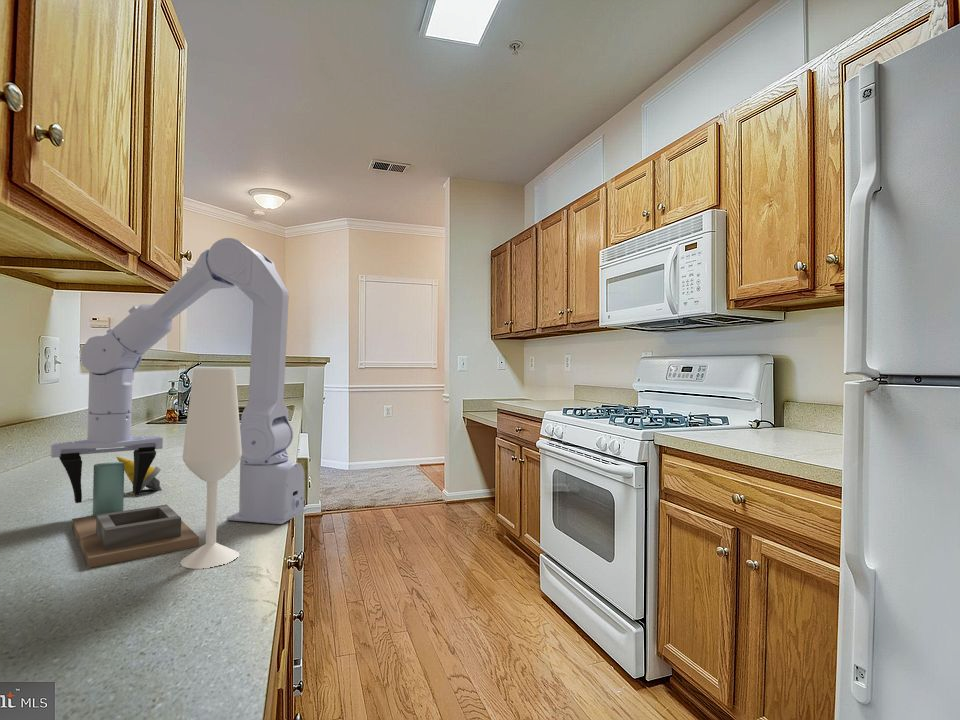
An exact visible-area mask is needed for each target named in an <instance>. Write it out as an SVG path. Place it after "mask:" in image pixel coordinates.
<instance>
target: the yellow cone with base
mask: <svg viewBox="0 0 960 720" xmlns="http://www.w3.org/2000/svg"><path fill="white" fill-rule="evenodd" d="M116 459H117V462H123V463H124V474H126V476H127V478H128V479H129V480H130V482H131V484H132V485H133V479H134V460H130V459H127V458H123V457H120V456H116ZM161 470H162V468H160V467H158V466H155V467H153V466H150V467H149V469H148V471H147V473H146V475H145V478H144V481H143V484H142V487H141V491H142V490H143V489H144V488H147V489H149V490H156V491H157V490H158V491H163V490H162V488H161V485H160V484H161V483H160V480H159V479H158V478H157V475H158V474H159V473H161Z"/></svg>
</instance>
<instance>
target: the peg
mask: <svg viewBox="0 0 960 720" xmlns="http://www.w3.org/2000/svg"><path fill="white" fill-rule="evenodd" d="M92 481H93V482H92V484H93V485H92V487H93V490H92V495H93V496H92V516H95V515H99V514H106V513H112V512H119V511H124V495H125V494H124V493H125V490H124V489H125V486H124V485H125V471H124V463H123V462H119V461H108V462H100V463H95V464H93V480H92Z"/></svg>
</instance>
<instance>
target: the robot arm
mask: <svg viewBox="0 0 960 720" xmlns="http://www.w3.org/2000/svg"><path fill="white" fill-rule="evenodd" d="M235 287H238V289H239V290H240V291H242V292H243V293H244V295H246V296H247V297H248V299H250V301H252V305H253V309H252V327H251V330H252V331H251V345H250V348H251V349H250V367H249V383H248V384H249V387H248V401H247V404H245V405H246V406H245V407H244V409H243V411H242V413H241V418H240V421H241V422H240V435H241V448H242V456H241V458H240V460H239V497H238V498H239V501H238V505H239V506H238V507H239V508H238V511H237V512H234V513H232V514H230V515H228V516H226V521H235V522H247V523H248V522H249V523H259V524H260V523H261V524H262V523H263V524H273V525H283V524H284V523H287V522H288V521H290V520H292V519H294V518H296V517H297V516H298V515H301V514H302V513H304V512H306V511H307V507H305V483H306V482H305V480H306V477H305V474H306V473H305V469H304V466H303V465H302V464H301V463H299V462H295V461H292V460H290V459H289V453H288V451H287V449H288V448H289V447H290V445H291V444H292V441H293V439H294V431H293V427H292V425H291V422H290V420H289V409H288V407H287V405H286V403H285V401H284V396H285V379H286V377H285V375H286V359H287V357H286V355H287V340H288V339H287V338H288V336H287V335H288V318H289V299H290V298H289V297H290V296H289V291H288V289H287V287H286V286H285V283H284V282H283V280H282V279H281V276H280V274H279V273H278V271H277V269H276V265H275V262H273V260H272V259H269V257H268V256H266V255H265V254H264V253H262V252H261V251H259V250H258V249H257V250H255V249H253V248H251V247H249V246H248V245H246V244H244V243H243V242H242V241H240V240H238V239H237V238H233V237H232V238H231V237H225V238H220V239H219V240H217V241H215V242H214V243H213V244H212V245H211V247H210V248H208V249H206V250H204V251H203V252H201V253H200V255H199V256H198V258H197V260H196V262H195V264H193V265H192V267H191V268H189V270H188V271H186V273H184V274H183V276H181V277H180V278H179V279H178V280H177V281H176V282H175V283H174V284H173V285H172V286H171V287H170V288H169V289H168V290H167V291H166V292H164V294H162V296H161V297H160V298H159V299H158V300H156V302H155V303H154V304H150V303H149V304H148V303H142V304H140V305H139V306H137V305H136V306H132V307H131V308H130V309H129V310H128V313H129V314H128V315H127V316H126V317H124V319H122V320H121V321H120V322H119V323H118V324H116V325H115V326H114V327H110V328H109V329H107V330H106V334H105V335H96V336H92V337H90V338H88V340H87V341H86V342H85V343H84V344H83V346H82V348H81V350H80V356H79V357H80V361H81V364H82V365H83V367H84V368H85V369H86V370H87V371H88V400H87V401H88V404H87V405H88V408H87V410H88V411H87V415H88V416H87V439H83V440H72V441H64V442H63V441H62V442H51V443H50V458H53V459H54V458H59V460H60V463H61V464H62V465H63V467H64V469H65V472H66V473H67V476H68V479H69V480H70V483H71V487H72V490H73V491H72V492H73V496H74V503H75V504H80V503H81V504H82V499H83V493H82V492H83V491H82V471H83V469H82V468H83V460H82V455H89V454H90V455H91V454H103V453H104V454H105V453H106V454H107V453H116V452H117V453H118V452H128V451H133V461H134V479H133V484H132V494H133V495H134V496H140V495H141V491H142V490H141V487H142V484H143V481H144V478H145V475H146V473H147V471H148V469H149V467H151V465H152V463H153V461H154V460H155V458H156V456H157V451H156V450H161V449H163V445H164V441H163V440H164V438H163V437H162V436H161V435H154V436H132V415H133V414H132V409H133V381H134V379H135V378H134V377H135V372H136V370H137V369H138V368H139V366H140V365H141V363H142V361H143V360H142V359H143V355H145V353H147V352H148V351H149V350H150V349H152V348H153V347H154V345H156V344H157V343H158V342H159V341H161V340H162V339H163V338H164V337H165V336H166V335H168V334H169V333H170V332H171V331H172V329H173V319H174V318H176V317H177V316H178V315H179V314H181V313H182V312H183V311H185V310H186V309H188V308H189V307H190V306H191V305H192V304H194V303H196V302H197V301H198V300H199V299H200V298H202V297H203V296H204V295H205V294H207V293H208V292H210V290H214V289H229V288H230V289H231V288H235Z"/></svg>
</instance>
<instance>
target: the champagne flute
mask: <svg viewBox="0 0 960 720" xmlns="http://www.w3.org/2000/svg"><path fill="white" fill-rule="evenodd" d="M237 387H238V386H237V373H236V369H235V368H214V367H212V368H211V367H210V368H209V367H208V368H205V367H204V368H203V367H202V368H201V367H199V368H197V367H194V368H193V372H192V379H191V387H190V395H189V401H188V402H189V404H188V410H187V411H188V412H187V418H186V426H185V433H184V434H185V435H184V444H183V451H182V461H183V462H184V465H185V466H186V467H187V468H188V470H189V471H190V472H192V473H193V474H194V475H195V476H197V477H198V478H199V479H200V480H201V481H203V482H205V483H206V509H205V510H206V513H205V514H206V516H205V518H206V521H205V544H204V545H202V546H200V547H198V548H196V549H195V550H194V551H192V552H191V553H190V554H188V555H187V556H185V557H184V558H182V559H181V561H180V565H181V566H182V567H183V568H188V569H192V570H193V569H194V570H195V569H196V570H200V569H201V570H203V568H204V569H211V568H210V567H213V568H215V567H214V566H218V565H222V566H224V565H223V564H225V565H228V564H230V563H229V562H231V561H233V560H234V559H236V558H237V557H238V558H240V553H239V552H238V551H237V550H234V549H232V548H230V547H227V546H225V545H222V544H220V543H219V542H217V514H218V513H217V511H218V482H219V481H220V480H222V479H224V478H225V477H226V476H227V475H228V474H229V473H230V472H231V471H232V470H234V468H235V467H236V466H237V464H238V463H240V458H241V456H242V448H241V435H240V425H241V422H240V413H239V412H240V409H239V401H238V399H239V398H238V388H237ZM238 558H237V559H238ZM237 559H236V560H237ZM233 562H234V561H233ZM227 563H228V564H227ZM231 563H232V562H231ZM218 567H219V566H218Z"/></svg>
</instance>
